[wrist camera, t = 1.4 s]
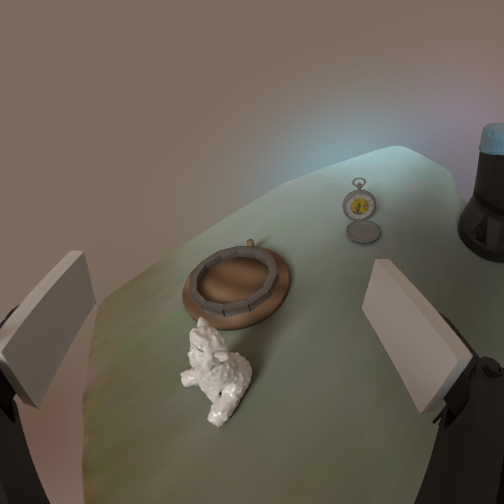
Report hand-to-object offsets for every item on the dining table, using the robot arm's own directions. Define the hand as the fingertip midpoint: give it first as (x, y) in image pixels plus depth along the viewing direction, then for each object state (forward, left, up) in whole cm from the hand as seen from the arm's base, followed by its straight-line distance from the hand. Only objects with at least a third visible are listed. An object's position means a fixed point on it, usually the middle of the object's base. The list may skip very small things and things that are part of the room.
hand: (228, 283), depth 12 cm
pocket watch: (-38, +3, -25) cm, 46 cm away
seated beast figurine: (-3, -10, -25) cm, 27 cm away
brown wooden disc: (-20, -16, -25) cm, 36 cm away
